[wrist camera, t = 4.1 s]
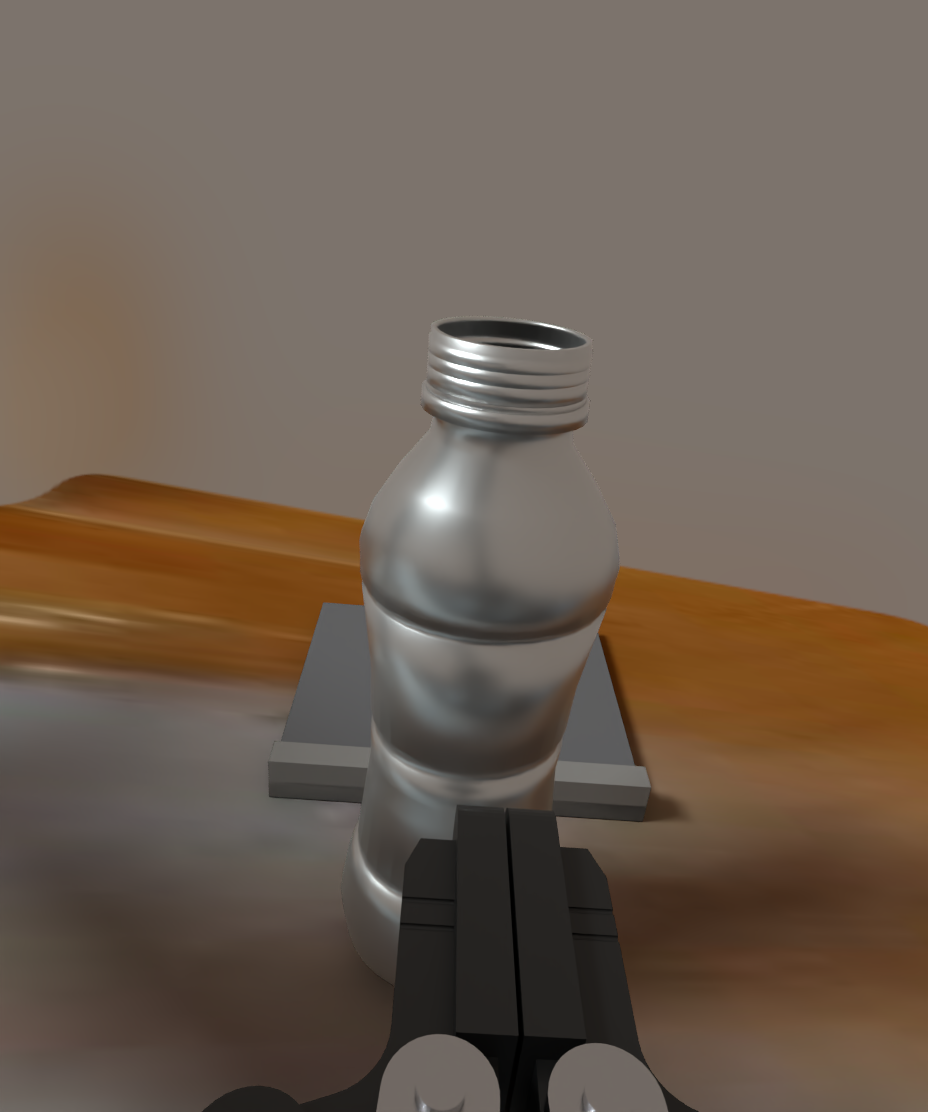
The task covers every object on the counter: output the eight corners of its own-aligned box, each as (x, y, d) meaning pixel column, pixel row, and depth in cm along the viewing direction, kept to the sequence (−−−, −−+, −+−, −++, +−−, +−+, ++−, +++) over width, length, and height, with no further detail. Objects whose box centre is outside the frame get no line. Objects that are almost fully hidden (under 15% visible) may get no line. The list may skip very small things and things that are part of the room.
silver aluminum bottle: (339, 866, 29) (356, 296, 21) (521, 859, 31) (613, 314, 22) (338, 1040, 24) (361, 357, 15) (562, 1024, 25) (709, 378, 16)
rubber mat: (268, 796, 32) (268, 761, 31) (323, 615, 45) (323, 586, 44) (642, 821, 33) (651, 787, 32) (592, 635, 45) (598, 607, 45)
